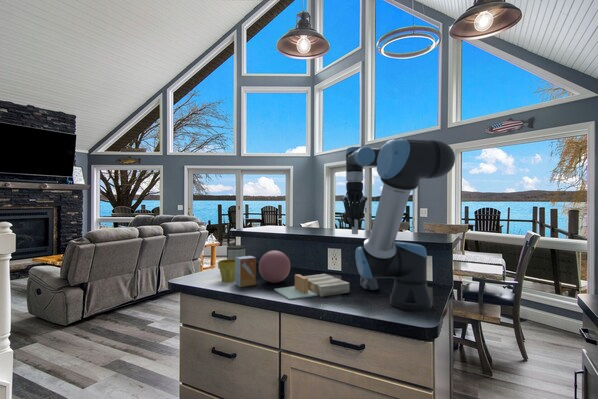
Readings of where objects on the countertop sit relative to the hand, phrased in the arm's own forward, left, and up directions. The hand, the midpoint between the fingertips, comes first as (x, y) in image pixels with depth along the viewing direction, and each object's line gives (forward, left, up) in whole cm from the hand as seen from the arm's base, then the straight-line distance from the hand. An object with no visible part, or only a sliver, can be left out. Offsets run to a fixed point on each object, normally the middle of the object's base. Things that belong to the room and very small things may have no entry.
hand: (354, 234), depth 145 cm
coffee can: (+60, +38, -25) cm, 75 cm away
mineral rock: (-1, -8, -25) cm, 26 cm away
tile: (+6, +23, -21) cm, 32 cm away
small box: (+29, +42, -25) cm, 57 cm away
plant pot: (+41, +47, -25) cm, 67 cm away
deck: (+6, +13, -24) cm, 28 cm away
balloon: (+28, +26, -25) cm, 45 cm away
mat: (+6, +27, -24) cm, 37 cm away
